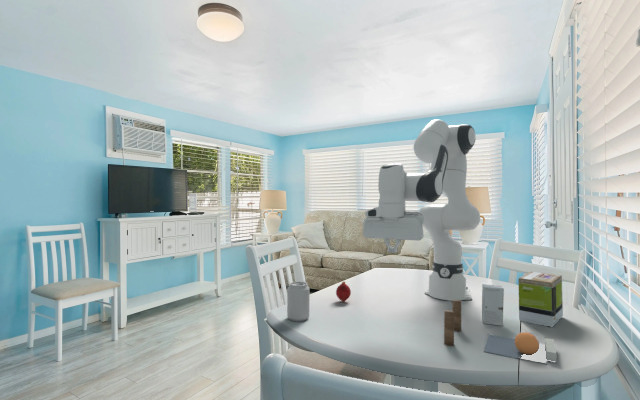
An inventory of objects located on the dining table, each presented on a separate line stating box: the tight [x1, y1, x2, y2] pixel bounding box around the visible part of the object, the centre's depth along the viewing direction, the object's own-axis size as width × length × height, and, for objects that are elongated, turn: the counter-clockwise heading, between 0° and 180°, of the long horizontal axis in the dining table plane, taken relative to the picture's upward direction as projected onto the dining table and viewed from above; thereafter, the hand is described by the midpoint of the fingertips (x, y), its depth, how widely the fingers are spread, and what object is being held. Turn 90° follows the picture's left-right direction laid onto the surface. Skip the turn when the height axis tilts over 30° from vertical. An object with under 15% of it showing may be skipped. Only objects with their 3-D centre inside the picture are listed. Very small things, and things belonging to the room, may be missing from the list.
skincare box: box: [481, 283, 505, 327], centre depth 115 cm, size 6×4×12 cm
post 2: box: [451, 300, 462, 332], centre depth 109 cm, size 3×3×9 cm
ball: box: [514, 331, 540, 355], centre depth 92 cm, size 6×6×6 cm
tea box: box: [518, 271, 564, 328], centre depth 120 cm, size 15×10×15 cm, turn 134°
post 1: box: [443, 309, 455, 347], centre depth 98 cm, size 3×3×9 cm
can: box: [286, 281, 311, 322], centre depth 119 cm, size 8×8×12 cm
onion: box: [335, 280, 352, 303], centre depth 139 cm, size 6×6×8 cm
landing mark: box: [483, 333, 523, 359], centre depth 95 cm, size 14×14×1 cm
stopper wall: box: [544, 337, 557, 362], centre depth 91 cm, size 10×2×2 cm, turn 149°
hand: (392, 252), depth 118 cm, fingers closed
